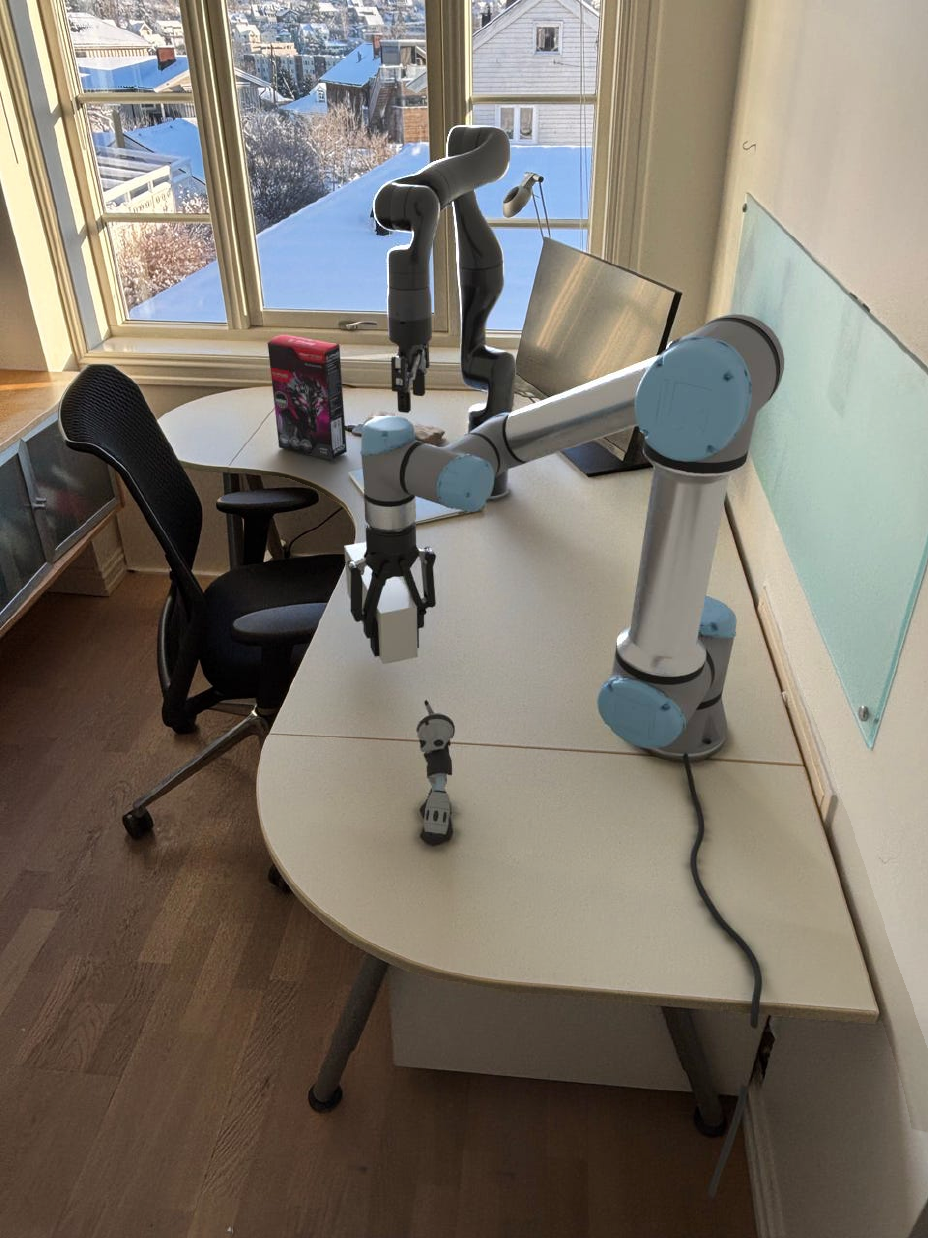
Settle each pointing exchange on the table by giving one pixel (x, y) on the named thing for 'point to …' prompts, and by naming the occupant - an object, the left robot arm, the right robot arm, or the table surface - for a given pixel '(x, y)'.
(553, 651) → the table surface
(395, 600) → the box
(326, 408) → the graphics card box
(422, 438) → the stone
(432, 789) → the robot
